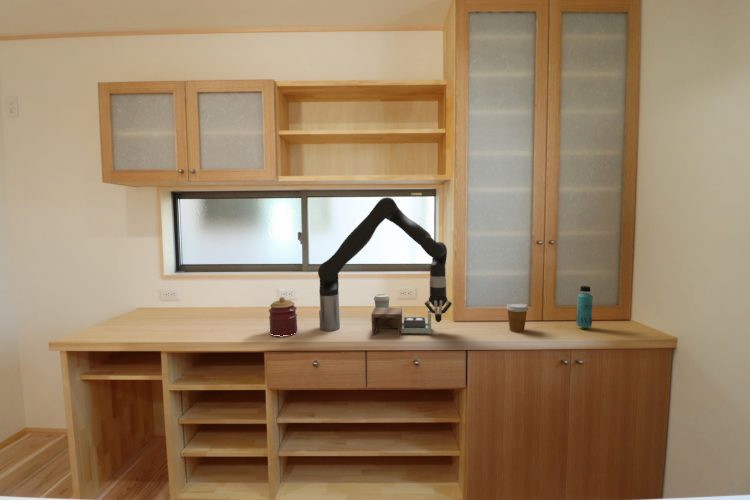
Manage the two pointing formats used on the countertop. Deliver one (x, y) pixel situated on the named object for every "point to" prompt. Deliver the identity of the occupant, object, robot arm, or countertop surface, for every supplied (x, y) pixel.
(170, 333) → the countertop surface
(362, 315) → the countertop surface
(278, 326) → the canister
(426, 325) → the pullout shelf
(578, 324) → the beverage bottle
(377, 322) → the small wooden cabinet
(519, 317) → the disposable coffee cup
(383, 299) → the coffee cup
